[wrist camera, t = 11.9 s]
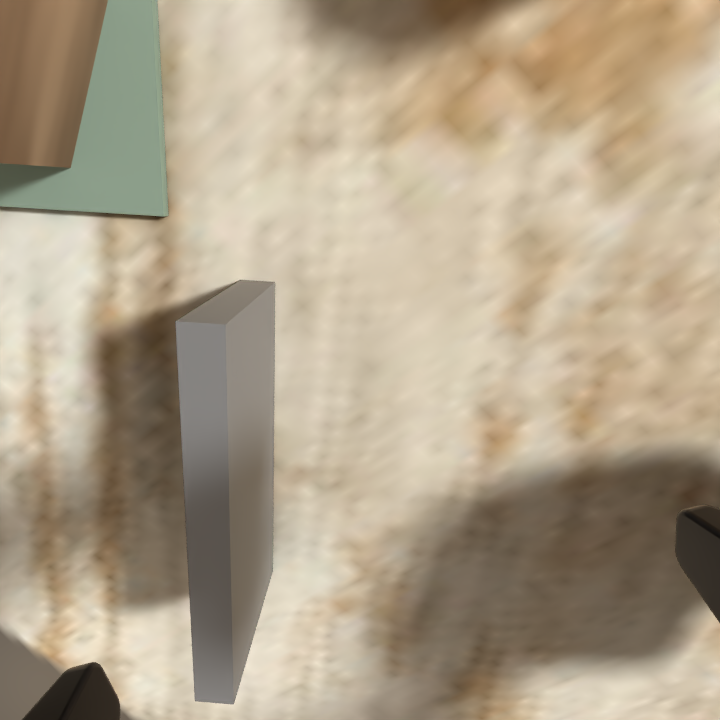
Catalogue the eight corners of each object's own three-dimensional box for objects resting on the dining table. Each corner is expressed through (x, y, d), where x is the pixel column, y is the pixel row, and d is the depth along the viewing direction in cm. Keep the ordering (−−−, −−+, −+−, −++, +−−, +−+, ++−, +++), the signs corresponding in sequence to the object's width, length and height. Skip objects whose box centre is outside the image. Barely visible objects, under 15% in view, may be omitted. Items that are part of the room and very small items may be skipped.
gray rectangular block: (275, 282, 18) (225, 324, 13) (272, 570, 22) (233, 704, 16) (240, 279, 18) (175, 321, 13) (243, 568, 22) (194, 700, 16)
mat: (151, -114, 15) (145, -122, 15) (168, 215, 18) (163, 216, 17) (-160, -129, 15) (-173, -136, 15) (-95, 199, 18) (-105, 199, 18)
